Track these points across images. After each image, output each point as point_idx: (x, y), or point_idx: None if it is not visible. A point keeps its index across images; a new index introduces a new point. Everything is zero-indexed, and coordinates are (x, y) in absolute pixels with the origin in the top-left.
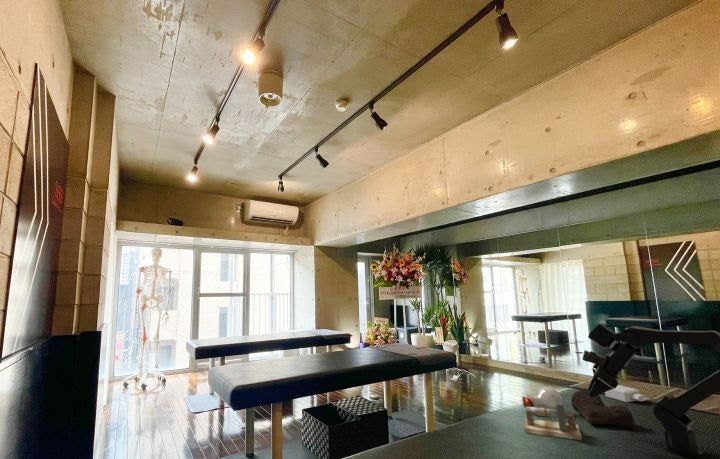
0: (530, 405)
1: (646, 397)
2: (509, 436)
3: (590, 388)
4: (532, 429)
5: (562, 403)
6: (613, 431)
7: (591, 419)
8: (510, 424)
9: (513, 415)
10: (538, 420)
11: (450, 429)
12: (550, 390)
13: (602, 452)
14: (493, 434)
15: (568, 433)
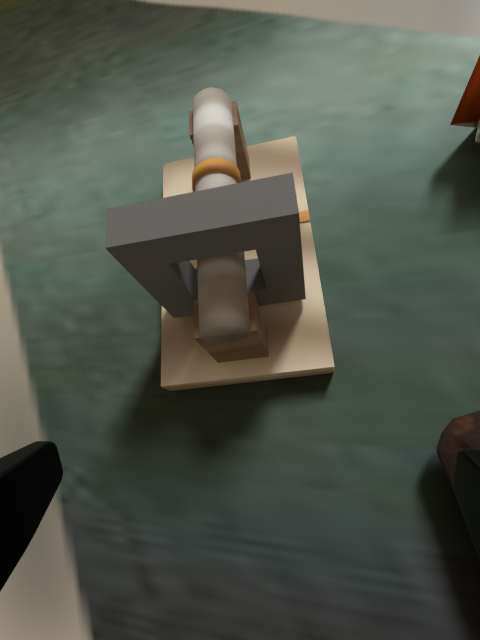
0: (463, 98)
1: None
2: (114, 147)
3: (474, 495)
4: (164, 191)
5: (152, 236)
6: (418, 591)
7: (448, 453)
8: (246, 114)
9: (381, 89)
10: (298, 186)
11: (115, 10)
12: None
13: None
14: (115, 105)
15: (163, 328)
